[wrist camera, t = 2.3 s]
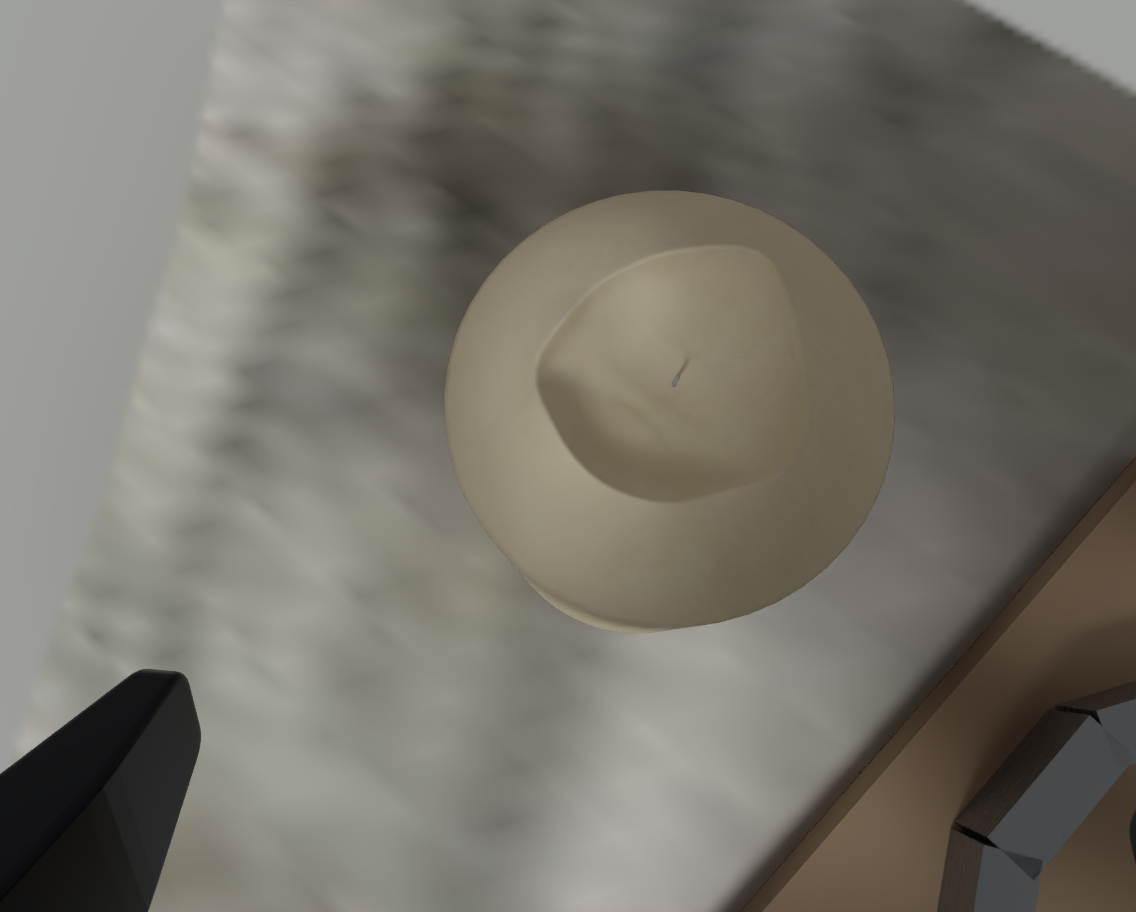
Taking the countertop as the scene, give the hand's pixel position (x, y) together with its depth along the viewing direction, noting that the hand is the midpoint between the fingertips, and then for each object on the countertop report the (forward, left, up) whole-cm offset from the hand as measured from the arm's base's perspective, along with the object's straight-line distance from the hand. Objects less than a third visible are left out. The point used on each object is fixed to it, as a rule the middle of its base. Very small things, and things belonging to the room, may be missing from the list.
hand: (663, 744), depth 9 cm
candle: (+3, +2, -11) cm, 11 cm away
